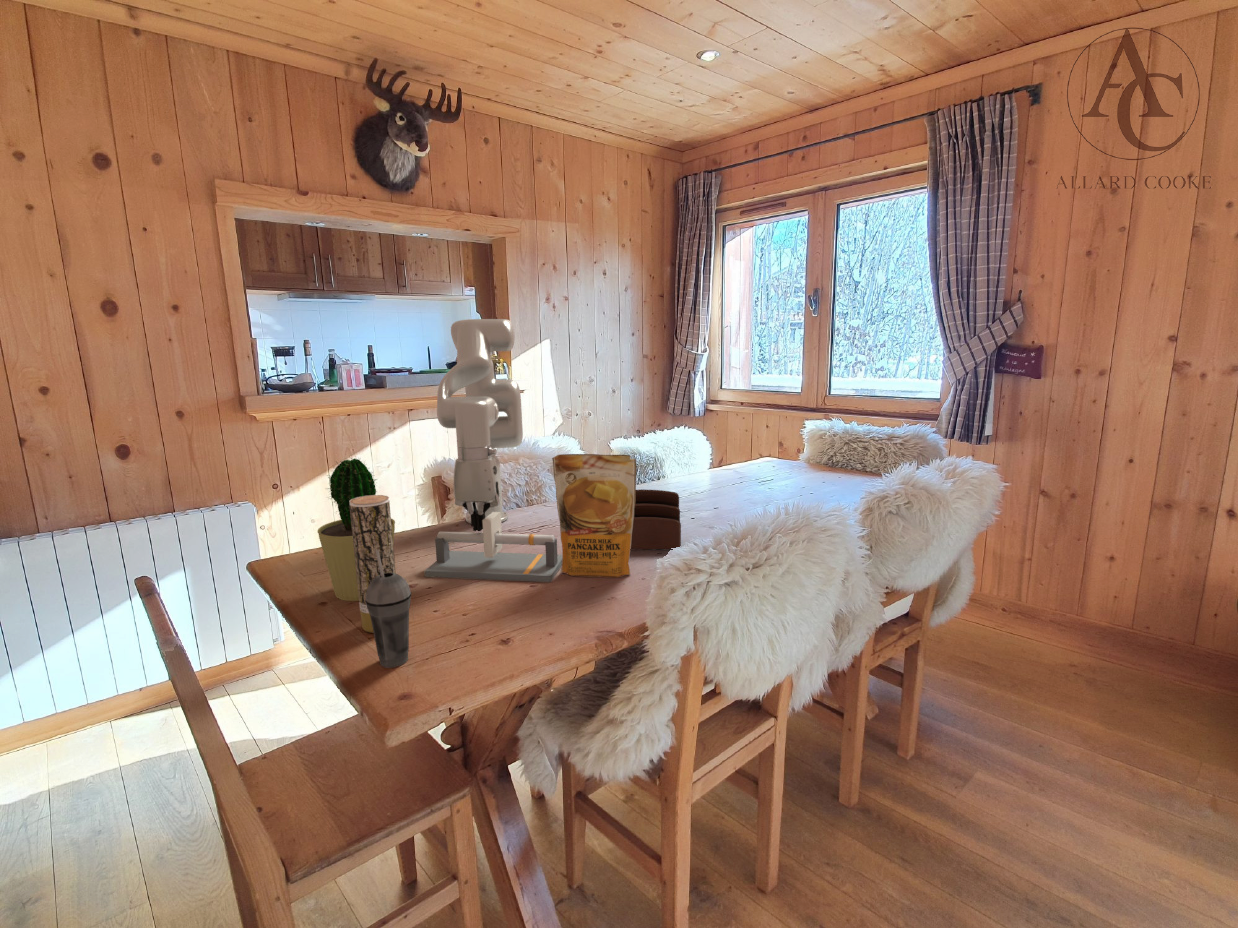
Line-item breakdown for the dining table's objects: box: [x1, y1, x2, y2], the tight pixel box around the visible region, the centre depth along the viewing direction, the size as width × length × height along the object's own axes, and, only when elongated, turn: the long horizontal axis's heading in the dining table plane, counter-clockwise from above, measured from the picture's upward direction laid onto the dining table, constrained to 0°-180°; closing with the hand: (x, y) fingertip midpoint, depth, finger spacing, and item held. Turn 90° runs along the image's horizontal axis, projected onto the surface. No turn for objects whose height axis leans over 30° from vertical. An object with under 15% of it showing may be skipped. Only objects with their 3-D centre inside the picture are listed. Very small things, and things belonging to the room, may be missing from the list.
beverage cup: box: [365, 550, 412, 668], centre depth 102 cm, size 7×7×20 cm
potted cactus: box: [317, 456, 396, 602], centre depth 131 cm, size 15×15×30 cm
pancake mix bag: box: [551, 453, 638, 579], centre depth 140 cm, size 7×19×28 cm, turn 83°
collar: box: [482, 512, 504, 558], centre depth 144 cm, size 7×2×9 cm, turn 172°
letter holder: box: [631, 489, 682, 551], centre depth 161 cm, size 10×20×14 cm, turn 88°
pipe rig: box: [424, 531, 562, 583], centre depth 145 cm, size 14×30×9 cm, turn 82°
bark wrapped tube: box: [349, 494, 397, 634], centre depth 114 cm, size 7×7×25 cm
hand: (478, 529), depth 144 cm, fingers closed
